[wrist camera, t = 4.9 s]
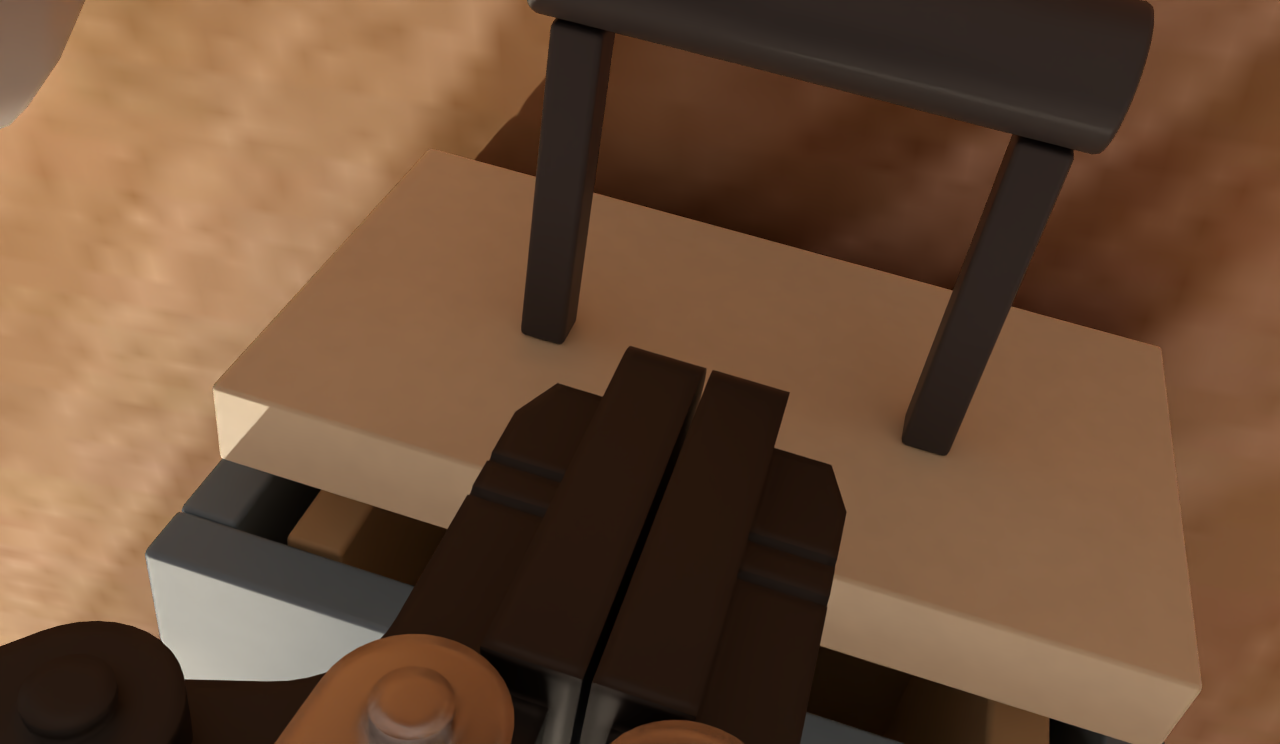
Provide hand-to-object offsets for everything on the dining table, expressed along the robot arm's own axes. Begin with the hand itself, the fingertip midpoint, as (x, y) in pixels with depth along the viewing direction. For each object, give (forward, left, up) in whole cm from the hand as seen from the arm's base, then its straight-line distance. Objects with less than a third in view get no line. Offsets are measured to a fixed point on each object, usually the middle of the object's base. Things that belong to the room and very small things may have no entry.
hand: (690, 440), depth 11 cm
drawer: (+6, 0, -7) cm, 9 cm away
